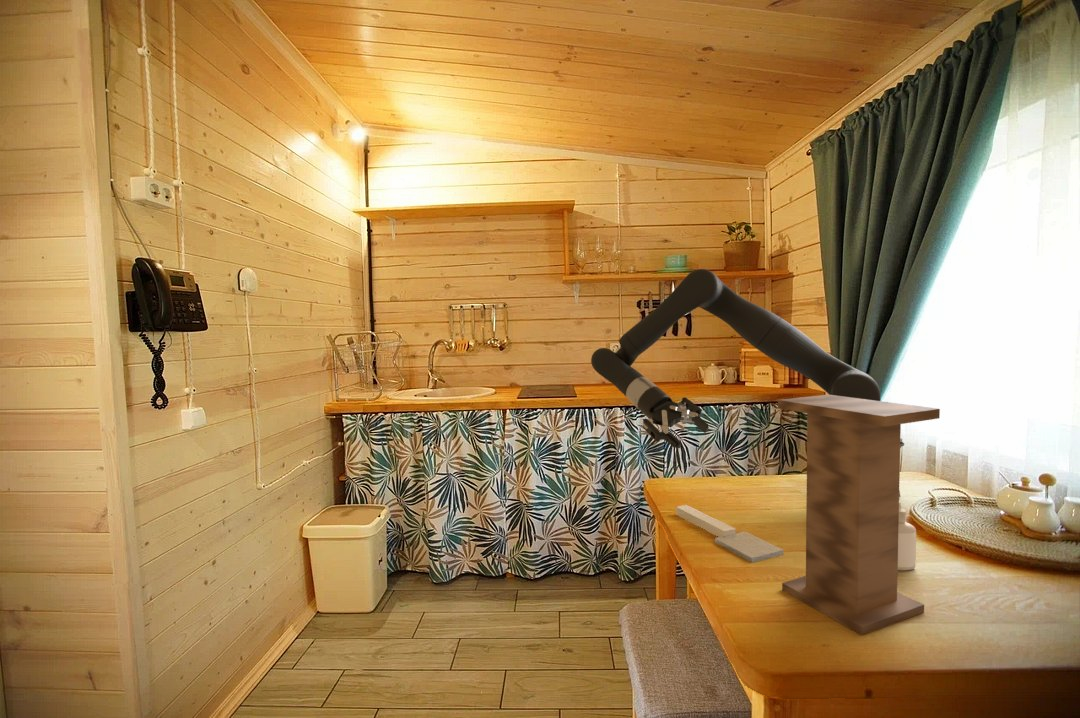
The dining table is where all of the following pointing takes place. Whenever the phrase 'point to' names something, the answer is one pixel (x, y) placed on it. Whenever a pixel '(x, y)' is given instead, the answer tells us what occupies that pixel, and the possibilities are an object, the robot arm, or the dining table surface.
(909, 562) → the eye dropper bottle
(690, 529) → the dining table surface
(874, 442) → the shelf stand
